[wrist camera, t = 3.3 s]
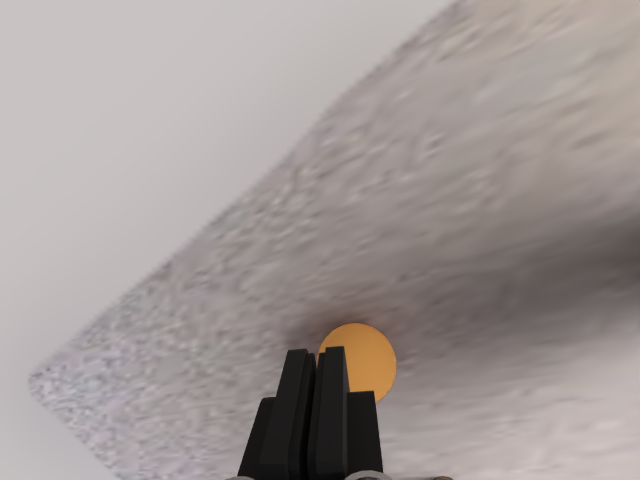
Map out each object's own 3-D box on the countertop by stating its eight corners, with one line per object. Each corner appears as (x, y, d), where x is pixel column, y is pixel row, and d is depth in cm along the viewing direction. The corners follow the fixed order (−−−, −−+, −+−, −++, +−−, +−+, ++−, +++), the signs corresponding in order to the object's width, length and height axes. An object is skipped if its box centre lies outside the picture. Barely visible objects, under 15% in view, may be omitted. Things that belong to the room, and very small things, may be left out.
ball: (315, 312, 30) (307, 354, 24) (388, 306, 30) (398, 348, 24) (324, 375, 32) (319, 428, 26) (394, 370, 31) (404, 423, 25)
